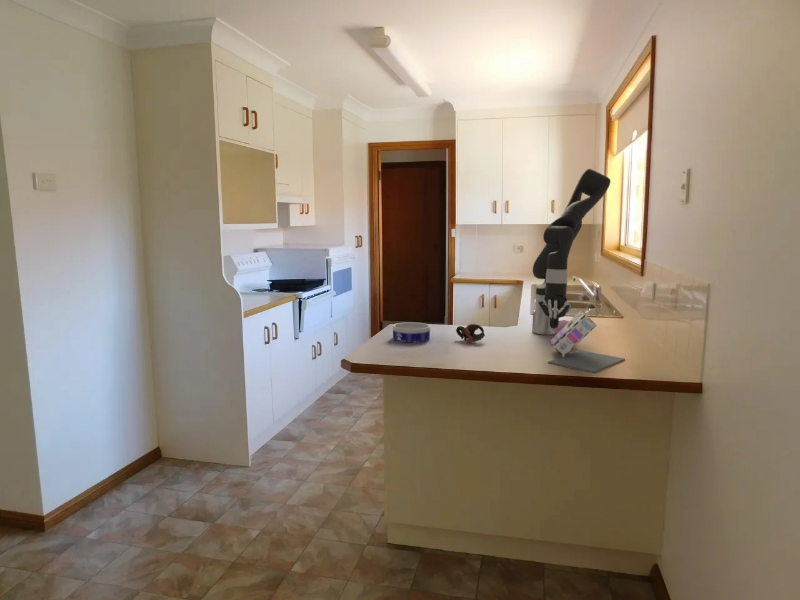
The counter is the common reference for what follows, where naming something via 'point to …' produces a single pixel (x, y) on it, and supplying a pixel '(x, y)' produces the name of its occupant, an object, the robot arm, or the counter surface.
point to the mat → (586, 361)
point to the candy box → (572, 333)
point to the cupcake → (560, 326)
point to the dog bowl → (411, 332)
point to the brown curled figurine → (470, 333)
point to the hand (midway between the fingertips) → (553, 328)
